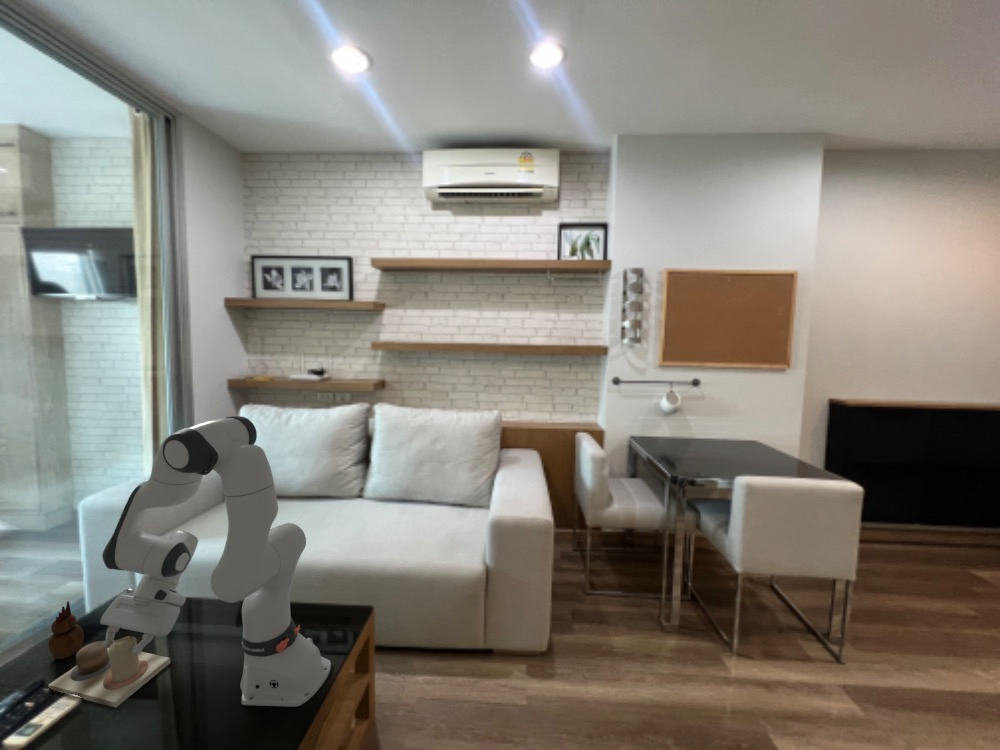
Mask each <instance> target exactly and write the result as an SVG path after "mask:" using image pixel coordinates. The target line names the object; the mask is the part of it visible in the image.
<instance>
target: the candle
mask: <svg viewBox="0 0 1000 750" xmlns="http://www.w3.org/2000/svg"><path fill="white" fill-rule="evenodd" d="M134 645H138V642H137V638H136V637H134V636H131V635H127V636H124V637H121V638H119V639H116V640H115V642H114V643H113V644H112V645H111V646H110V648H109V658H110V666H111V673H112V679H113V681H114V682H122V681H125V680H128V679H130V678H131V677H133V676H134V675H135V674H136V673H137V672H138V671H139V668H140V666H139V657H138V654H132V653H131V650H132V648H133V646H134Z"/></svg>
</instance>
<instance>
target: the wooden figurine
mask: <svg viewBox="0 0 1000 750" xmlns="http://www.w3.org/2000/svg"><path fill="white" fill-rule="evenodd" d="M51 633H52V635H51V636H50V638H49V639H48V648H49V651H50V653H51V655H52V656H53V658H55V659H57V660H64V659H68V658H70V657H72V656H73V655H76V654H77V652H78V651H79V650H80V649H82V645H83V643H84V639H85V637H84V636H85V634H84V630H83V628H82V627H81V626H80V625H79V624H77V617H76V616H75V615H74V614H72V610H71V606H70V601H67V602H66V607H65V606H61V611H60V612H59V611H58V616H56V617H55V620H54V621H53V622H52V624H51Z"/></svg>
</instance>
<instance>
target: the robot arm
mask: <svg viewBox="0 0 1000 750" xmlns="http://www.w3.org/2000/svg"><path fill="white" fill-rule="evenodd" d="M257 434H258V433H257V429H256V426H255V425H254V423H253V422H252V421H251V420H250V419H249V418H247V417H246V416H241V415H240V416H239V415H236V416H235V415H234V416H233V415H231V416H227V417H224V418H219V419H215V420H214V419H212V420H207V421H203V422H200V423H197V424H195V425H191V426H189V427H185V428H181V429H179V430H177V431H175V432H174V433H173V432H172V434H170V435H168V436H167V437H165V438H164V440H162V442H161V444H160V446H159V447H158V450H157V452H156V456H155V457H154V461H153V464H152V466H151V467H152V468H151V473H150V476H149V478H148V480H146V481H142V482H141V483H139V484H138V485H137V486H136V487H135V488H134V489H133V490H132V492H131V493H130V495H129V497H128V499H127V500H126V503H125V506H124V508H123V510H122V511H121V514H120V517H119V519H118V522H117V524H116V526H115V529H114V531H113V533H112V535H111V537H110V539H109V540H108V542H107V544H106V546H105V548H104V550H103V551H102V556H101V557H102V561H103V563H104V565H105V567H106V568H107V569H108V570H115V571H125V572H131V573H135V574H140V575H143V576H142V577H141V580H139V583H138V584H137V586H136V587H135V589H133V588H126V589H124V590H122V591H121V592H120V593H119V594H118V595H117V597H115V598H114V600H113V601H112V603H110V605H109V606H108V607H107V608H106V610H105V612H104V613H103V614H102V616H101V618H100V625H104V626H105V625H106V626H108V627H107V629H106V633H105V639H104V640H103V641H104V643H103V645H102V647H106V648H110V646H111V645H112V644H113V643H114V642H115V641H116V640H115V639H114V638H115V635H116V633H118V632H119V630H120V629H124V630H128V631H134V632H137V633H138V632H139V633H142V634H143V635H142V636H141V638H142V639H141V640H140V642H139V643H137V645H134V646H133V648H132V650H131V653H132V654H138V655H139V654H140V653H141V652H143V649H144V648H145V647H146V646H147V645H148V644H149V643H150V642H152V641H153V639H154V637H155V636H157V637H163V638H164V637H166V636H168V635H169V634H170V633H171V631H172V629H173V627H174V625H175V624H176V622H177V620H178V618H179V615H180V612H181V607H182V606H184V604H185V603H186V602H187V598H186V596H184V595H183V594H181V593H180V592H179V591H178V590H177V589H176V588H177V587H178V585H179V582H180V578H181V576H182V575H183V573H184V572H185V571H186V570H187V569H188V568H189V567H188V566H189V565H190V563H191V561H192V560H193V559H192V558H193V557H194V554H195V552H196V550H197V547H198V544H199V539H198V537H197V536H196V535H194V534H193V533H191V532H188V531H184V530H183V531H182V530H175V531H172V533H171V534H170V535H169V536H168V537H165V536H159V535H156V534H151V533H147V532H145V531H143V530H142V529H141V525H142V523H143V521H144V518H145V516H146V514H147V512H148V510H150V509H158V508H160V509H161V508H162V509H163V508H171V507H175V506H179V505H182V504H183V503H186V502H188V501H189V500H190V499H192V498H193V497H194V496H195V495H196V494H197V493H198V491H199V490H200V488H201V485H202V481H203V476H208V475H209V474H210V473H211V472H212V471H214V472H215V473H216V474H218V475H219V477H220V479H221V484H222V490H223V492H222V493H223V497H224V501H225V508H226V514H227V516H226V517H227V522H228V523H227V526H228V527H227V534H226V535H227V536H226V541H225V545H224V548H223V552H222V554H221V557H220V559H219V561H218V563H217V565H216V567H215V568H214V569H213V571H212V574H211V576H210V587H211V590H212V593H213V594H214V596H215V597H216V598H218V599H219V600H221V601H222V602H226V603H229V604H230V603H231V604H232V603H233V604H234V603H237V602H239V601H241V600H243V599H244V600H243V602H242V607H241V620H242V621H241V622H242V633H241V645H242V646H241V647H242V651H243V653H244V657H243V658H244V659H243V668H242V669H243V671H242V676H241V680H240V682H239V683H240V686H239V687H240V691H241V694H242V695H241V702H240V703H241V705H243V706H259V707H260V706H264V707H265V706H266V707H299V706H302V705H303V704H305V703H306V702H307V701H309V700H310V699H311V698H312V697H313V696H314V695H315V694H316V693H317V691H319V690H320V688H321V687H322V686H323V684H324V683H325V681H326V680H327V678H328V676H329V675H330V672H331V669H332V663H331V660H329V659H328V658H325V657H323V656H321V655H322V654H321V652H320V649H319V648H318V646H316V645H315V644H314V641H313V639H312V638H311V637H307V638H306V637H305V636H303V634H301V633H300V632H299V631H300V629H301V627H300V626H301V624H298V625H296V623H295V622H294V619H293V618H292V616H291V589H292V585H293V584H292V583H293V580H294V576H295V571H296V569H297V566H298V563H299V560H300V558H301V555H302V553H303V552H304V550H305V548H306V546H307V537H306V534H305V532H304V530H303V529H302V528H301V527H300V526H299V525H297V524H295V523H292V522H287V523H284V524H280V525H278V526H275V527H272V525H273V523H274V521H275V520H276V518H277V515H278V514H279V503H278V499H277V493H276V488H275V487H276V486H275V482H274V477H273V472H272V468H271V466H270V462H269V460H268V456H267V455H266V452H265V451H264V449H263V448H262V447H261V446H259V445H256V444H255V443H256V442H257V438H258V435H257ZM271 527H272V528H271Z"/></svg>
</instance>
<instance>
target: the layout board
mask: <svg viewBox="0 0 1000 750" xmlns="http://www.w3.org/2000/svg"><path fill="white" fill-rule="evenodd" d="M104 641H105V640H98V641H94V642H91V643H89V644H86V645H85V646H83V647H81V648H80V650H79V651H77V652H76V653H75V657H76V658H75V660H76V665H75V666H73V667H72V668H71V669H70V670H68V671H67V672H65V673H63V674H62V675H61V676H59V677H57V678H56V679H54V680H53V681H52V682H50V683H49V684H47V688H48V687H49V688H51V689H53V690H55V691H58V692H61V693H60V694H62V693H65V694H64V695H66V694H75V695H78V696H80V697H82V698H83V699H82V700H86V701H89V702H93V703H96V704H100V705H105V706H108V707H112V708H118V706H120V705H121V704H122V703H123V702H125V701H126V700H128V698H130V697H131V696H132V695H133V694H135V693H136V692H137V691H138V690H139V689H141V688H142V687H143V686H144V685H145V684H147V683H148V682H149V681H150V680H152V679H153V678H154V677H155V676H157V675H158V674H159V673H160V672H161V671H162V670H163V669H165V668H166V667H167V666H168V665H170V664H171V658H170V657H167V656H162V655H157V654H154V653H149V652H144V651H141V653H140V654H139V655H138V657H139V666H140V668H139V671H138V672H137V673H136V674H135V675H134V676H133V677H131V678H130V679H128V680H125V681H122V682H114V681H113V679H112V673H111V666H110V658H109V648H106V647H102V645H103V643H104ZM49 688H48V689H49ZM55 691H54V692H55ZM58 692H57V693H58Z"/></svg>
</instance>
